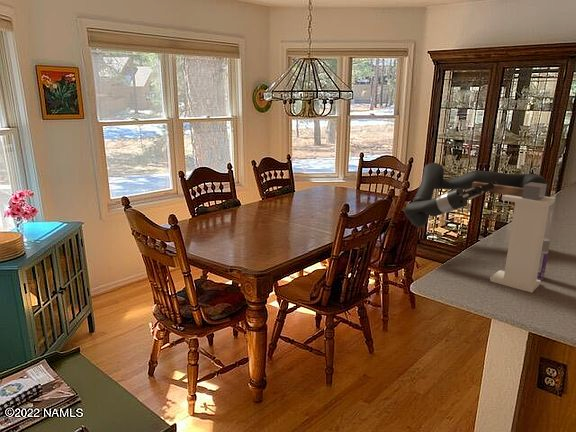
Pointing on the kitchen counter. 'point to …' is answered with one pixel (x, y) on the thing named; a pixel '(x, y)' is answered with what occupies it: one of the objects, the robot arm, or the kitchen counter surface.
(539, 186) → the mallet
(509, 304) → the kitchen counter surface
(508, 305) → the kitchen counter surface
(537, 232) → the stand
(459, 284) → the kitchen counter surface
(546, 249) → the container
